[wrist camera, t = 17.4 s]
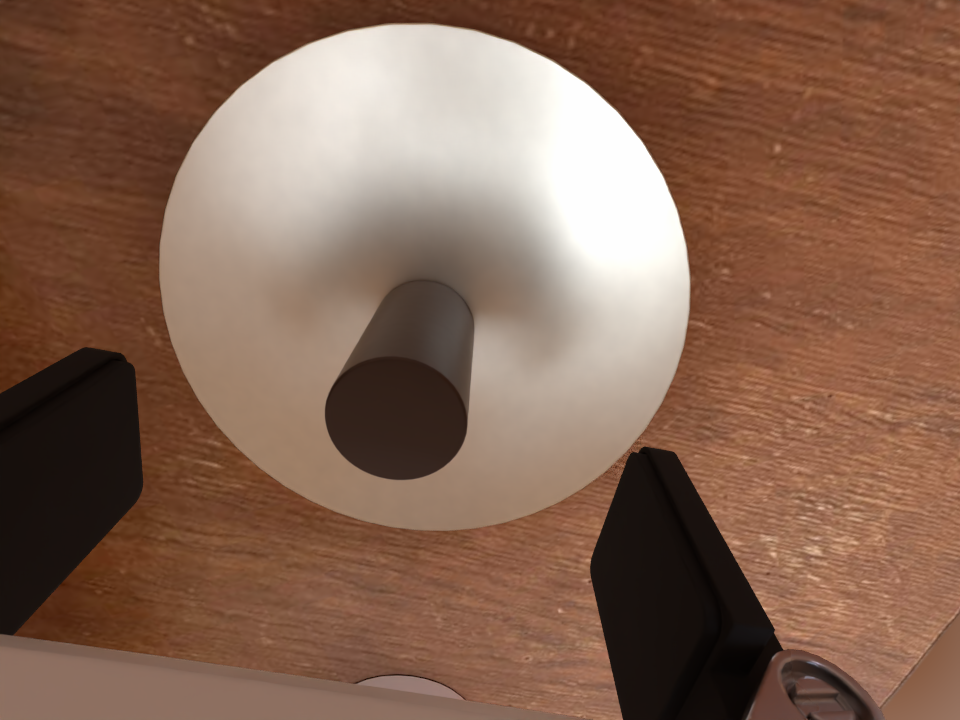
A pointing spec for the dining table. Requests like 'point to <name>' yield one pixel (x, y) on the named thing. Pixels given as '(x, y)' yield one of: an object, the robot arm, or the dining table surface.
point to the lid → (424, 276)
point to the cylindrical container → (411, 685)
